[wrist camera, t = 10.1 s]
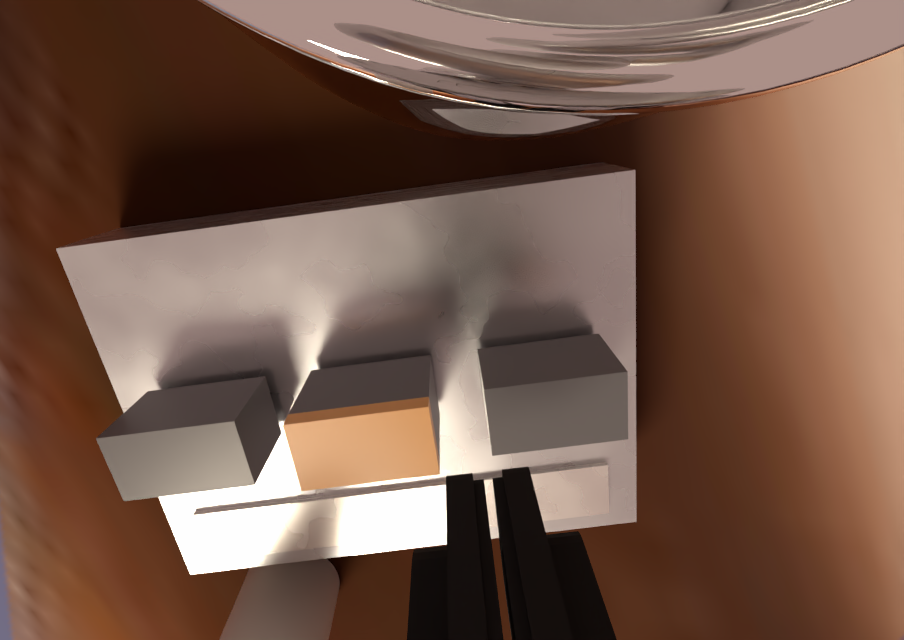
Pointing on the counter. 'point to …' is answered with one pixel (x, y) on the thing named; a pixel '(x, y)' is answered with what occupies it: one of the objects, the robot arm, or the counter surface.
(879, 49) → the beer glass
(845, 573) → the counter surface
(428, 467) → the paddle mid
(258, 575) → the post
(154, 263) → the breaker panel
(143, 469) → the grey rectangular box
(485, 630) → the robot arm
